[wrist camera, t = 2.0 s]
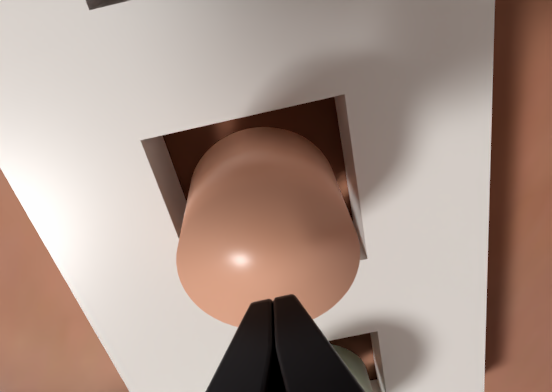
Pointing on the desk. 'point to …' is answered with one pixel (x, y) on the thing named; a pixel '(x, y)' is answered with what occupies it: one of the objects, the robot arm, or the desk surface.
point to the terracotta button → (265, 227)
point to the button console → (240, 103)
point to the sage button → (355, 366)
